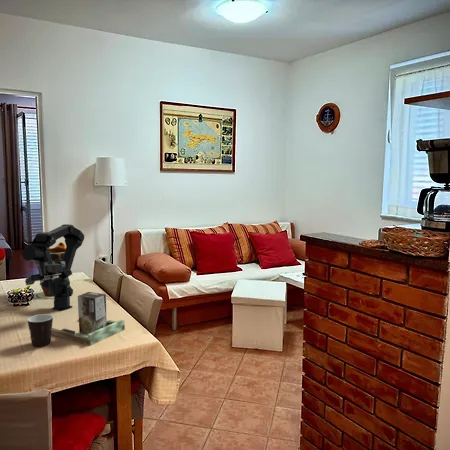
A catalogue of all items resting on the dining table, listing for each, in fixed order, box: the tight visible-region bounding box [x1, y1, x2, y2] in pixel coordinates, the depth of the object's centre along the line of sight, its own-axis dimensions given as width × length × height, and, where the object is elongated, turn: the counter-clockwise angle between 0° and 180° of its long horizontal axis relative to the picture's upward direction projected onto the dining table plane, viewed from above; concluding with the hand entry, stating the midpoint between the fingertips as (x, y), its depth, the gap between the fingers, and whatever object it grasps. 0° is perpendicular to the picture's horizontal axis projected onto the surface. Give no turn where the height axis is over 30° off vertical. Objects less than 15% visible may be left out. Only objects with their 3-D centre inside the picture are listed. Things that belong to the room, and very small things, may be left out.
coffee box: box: [77, 291, 108, 336], centre depth 164 cm, size 9×6×16 cm
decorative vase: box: [33, 241, 66, 300], centre depth 217 cm, size 21×23×28 cm
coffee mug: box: [26, 313, 54, 348], centre depth 153 cm, size 12×9×10 cm
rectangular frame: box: [51, 319, 126, 346], centre depth 167 cm, size 18×24×4 cm
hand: (54, 295), depth 177 cm, fingers closed
